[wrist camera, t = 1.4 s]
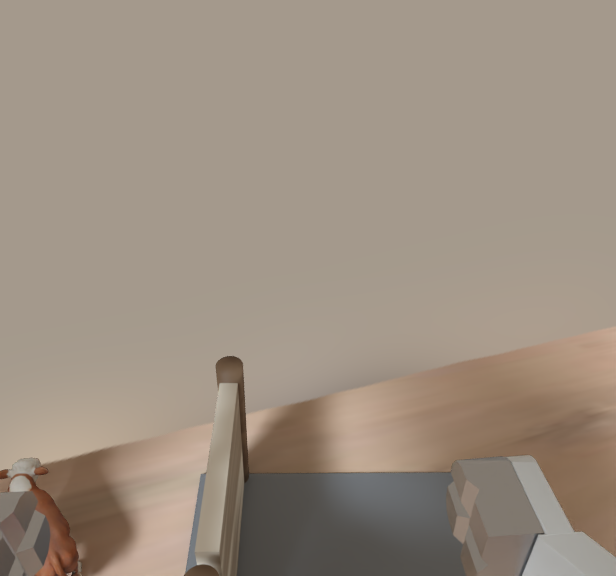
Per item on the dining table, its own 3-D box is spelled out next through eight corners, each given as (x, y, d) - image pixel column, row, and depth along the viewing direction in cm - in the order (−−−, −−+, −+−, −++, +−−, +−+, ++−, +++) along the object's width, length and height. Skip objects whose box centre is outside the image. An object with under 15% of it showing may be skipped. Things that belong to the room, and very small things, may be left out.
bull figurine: (58, 487, 55) (36, 437, 50) (97, 599, 46) (77, 552, 41) (12, 508, 53) (-14, 459, 48) (45, 630, 44) (17, 585, 39)
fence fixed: (201, 705, 40) (176, 606, 30) (227, 468, 57) (217, 356, 47) (232, 704, 40) (218, 605, 30) (249, 468, 57) (243, 356, 47)
